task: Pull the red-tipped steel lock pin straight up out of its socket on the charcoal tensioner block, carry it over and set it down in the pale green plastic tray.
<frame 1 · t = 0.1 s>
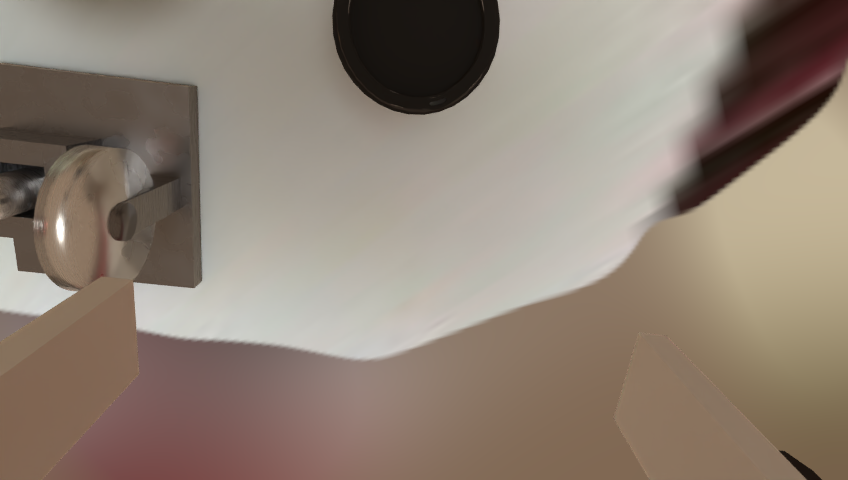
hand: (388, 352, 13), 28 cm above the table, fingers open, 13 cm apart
coffee cup: (415, 43, 37), on the table
lock pin: (58, 179, 38), point 1 cm above the table, touching tensioner block
tensioner block: (110, 179, 39), on the table
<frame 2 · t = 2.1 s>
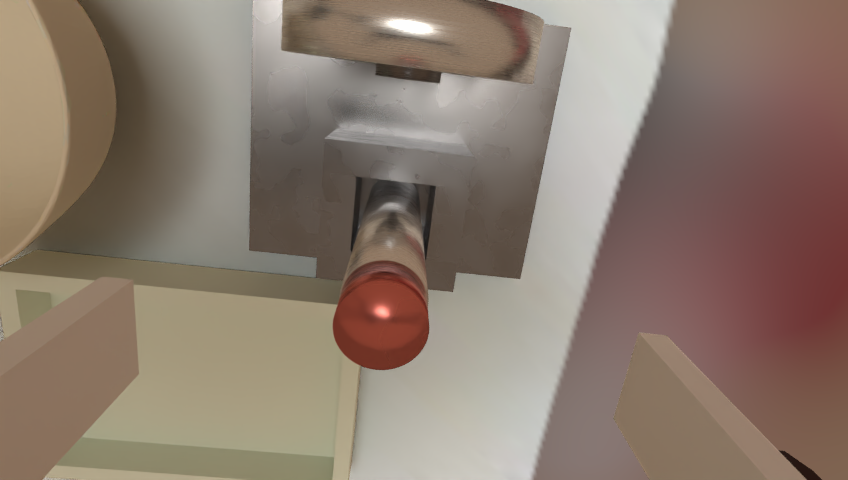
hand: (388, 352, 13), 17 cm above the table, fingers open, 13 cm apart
bowl: (36, 78, 27), on the table
lock pin: (394, 199, 28), point 1 cm above the table, touching tensioner block
tensioner block: (400, 142, 28), on the table
tray: (208, 364, 33), on the table
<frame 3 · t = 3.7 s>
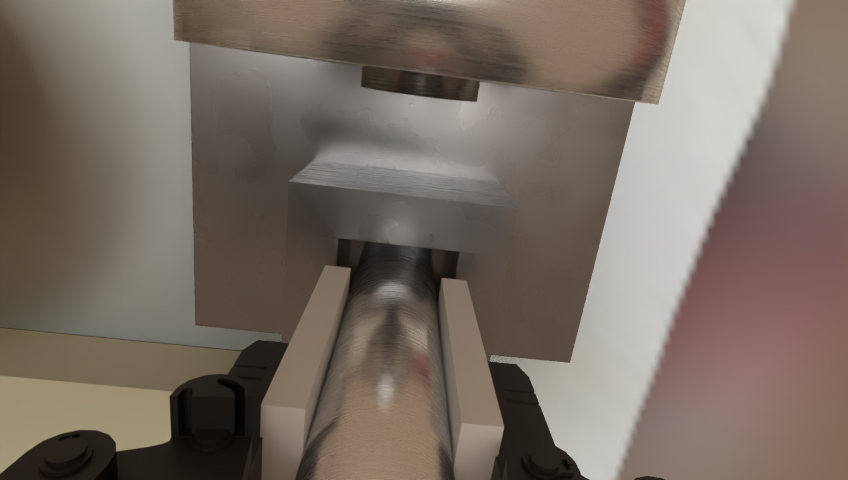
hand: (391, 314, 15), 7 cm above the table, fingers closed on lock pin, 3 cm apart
lock pin: (396, 256, 20), point 1 cm above the table, touching gripper, tensioner block
tensioner block: (405, 176, 20), on the table
tray: (150, 465, 25), on the table
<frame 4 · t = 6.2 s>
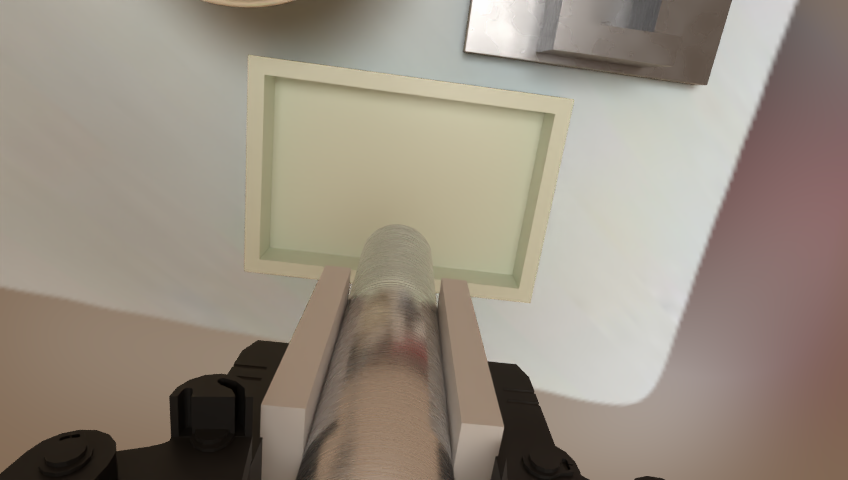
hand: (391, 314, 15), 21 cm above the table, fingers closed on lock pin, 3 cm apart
lock pin: (396, 257, 20), point 16 cm above the table, touching gripper
tray: (402, 179, 35), on the table
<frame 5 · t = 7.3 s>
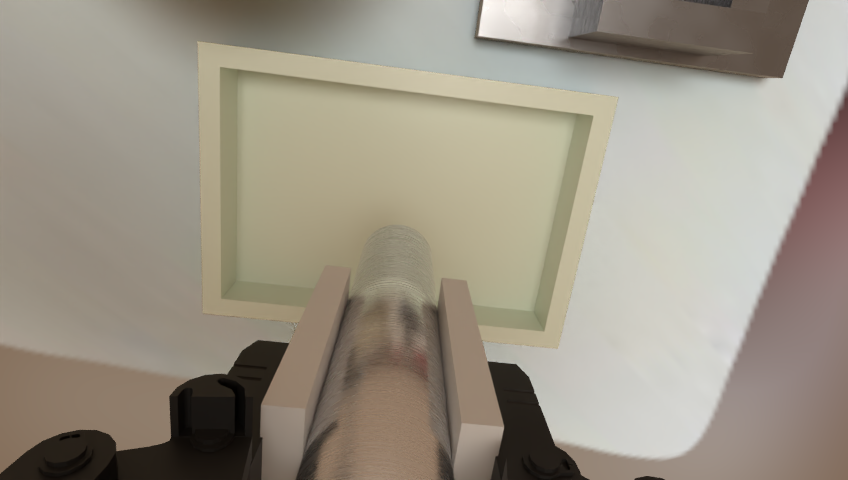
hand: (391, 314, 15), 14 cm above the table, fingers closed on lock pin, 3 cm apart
lock pin: (396, 258, 20), point 9 cm above the table, touching gripper
tray: (399, 196, 29), on the table
when the fingers open (8 cm above the table, at t = 8.5 s): lock pin drops 2 cm, resting on tray.
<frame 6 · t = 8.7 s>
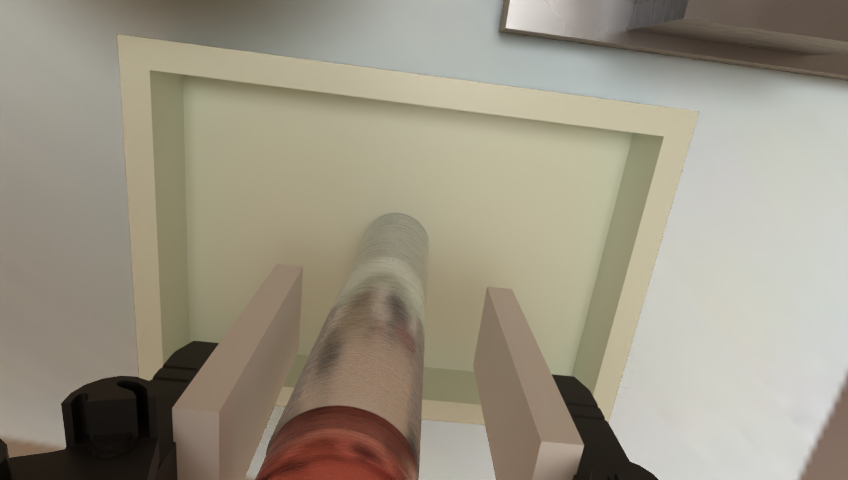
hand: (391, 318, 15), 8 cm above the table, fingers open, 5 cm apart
lock pin: (396, 244, 21), point 1 cm above the table, touching tray
tray: (398, 237, 22), on the table
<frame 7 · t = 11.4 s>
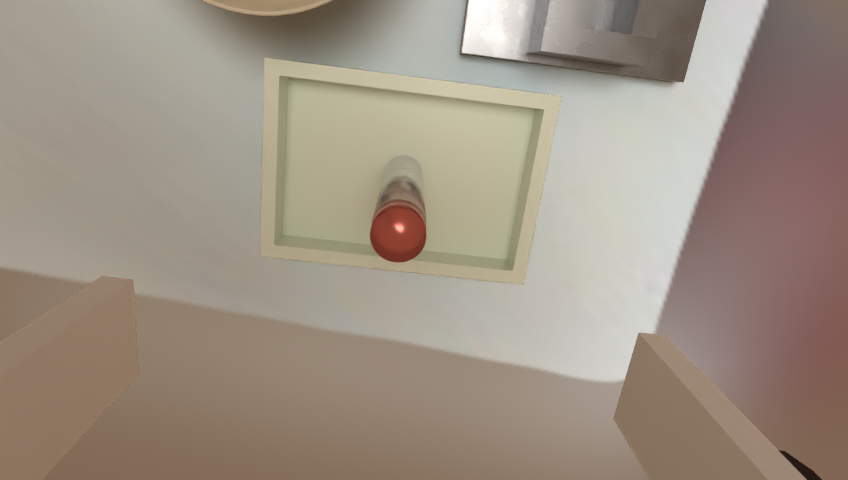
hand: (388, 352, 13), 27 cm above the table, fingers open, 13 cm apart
lock pin: (403, 173, 38), point 1 cm above the table, touching tray
tray: (404, 171, 38), on the table
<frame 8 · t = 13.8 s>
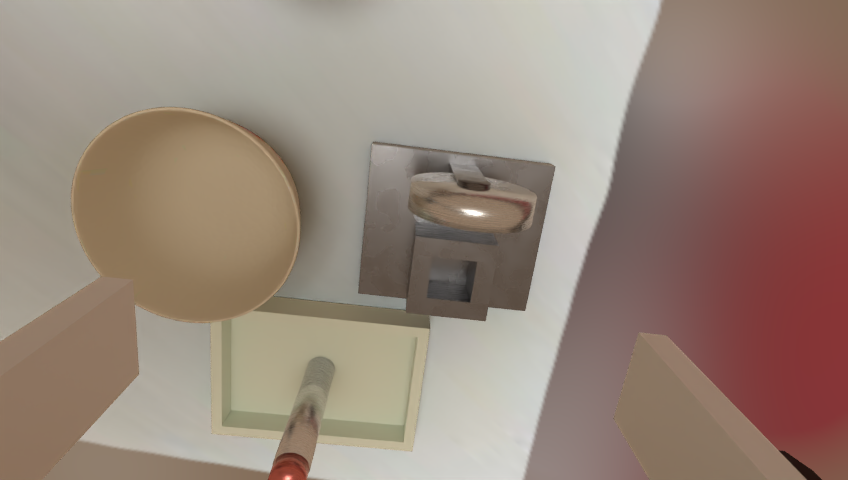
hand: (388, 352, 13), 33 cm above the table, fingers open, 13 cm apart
bowl: (235, 191, 45), on the table
lock pin: (321, 368, 50), point 1 cm above the table, touching tray
tensioner block: (451, 227, 46), on the table
tray: (323, 364, 51), on the table
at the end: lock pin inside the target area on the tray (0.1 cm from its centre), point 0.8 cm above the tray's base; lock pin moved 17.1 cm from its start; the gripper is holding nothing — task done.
